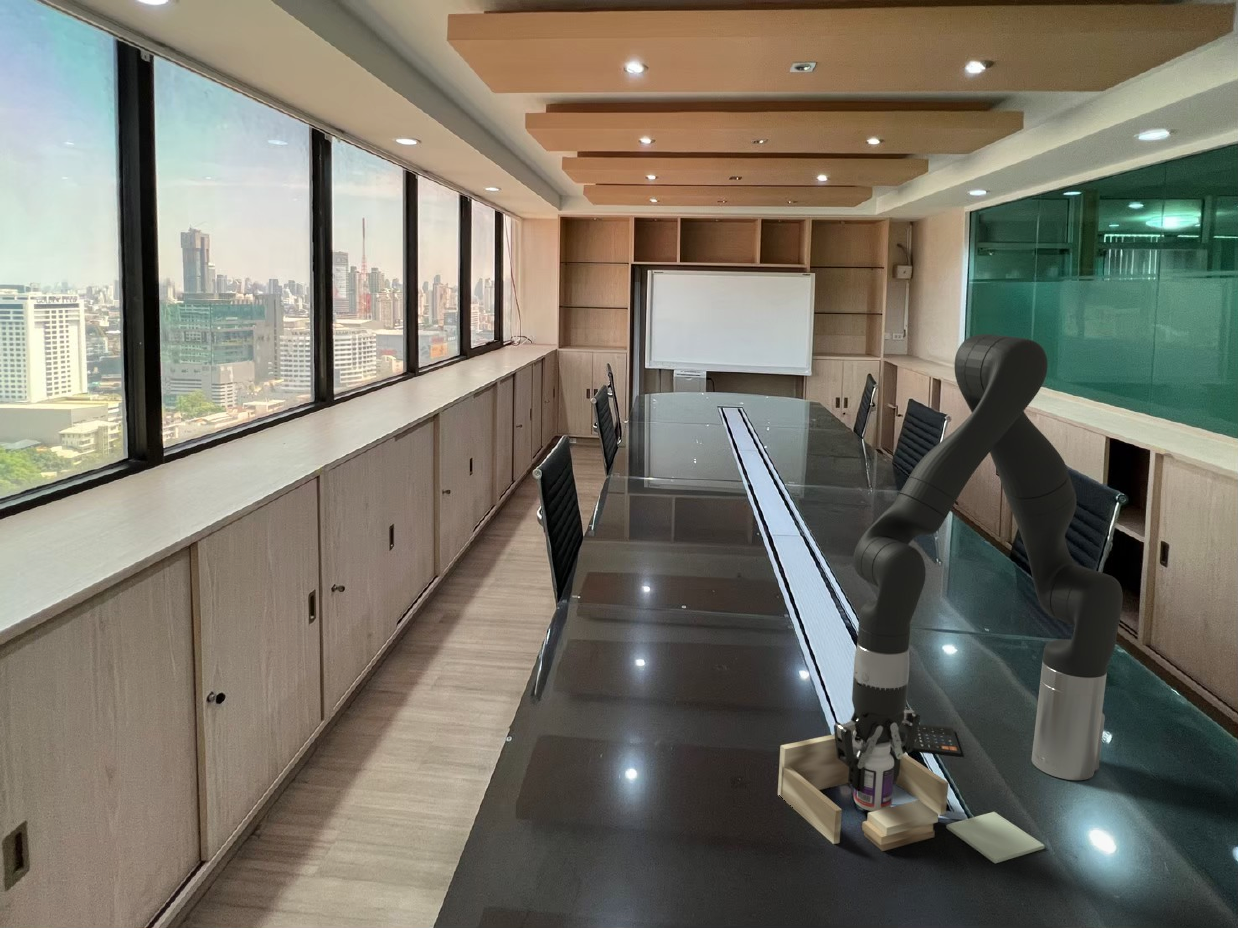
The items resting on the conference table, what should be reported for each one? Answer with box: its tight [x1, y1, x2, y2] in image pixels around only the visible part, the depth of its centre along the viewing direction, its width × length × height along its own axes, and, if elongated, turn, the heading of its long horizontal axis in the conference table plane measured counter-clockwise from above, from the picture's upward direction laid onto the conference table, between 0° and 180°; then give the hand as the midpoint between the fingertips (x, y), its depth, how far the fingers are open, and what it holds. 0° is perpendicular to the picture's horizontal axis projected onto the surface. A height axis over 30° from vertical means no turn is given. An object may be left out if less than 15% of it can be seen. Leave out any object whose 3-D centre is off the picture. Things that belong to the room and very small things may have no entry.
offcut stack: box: [861, 799, 939, 852], centre depth 129 cm, size 10×4×4 cm, turn 114°
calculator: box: [898, 723, 962, 757], centre depth 158 cm, size 9×12×3 cm
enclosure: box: [777, 730, 950, 845], centre depth 136 cm, size 20×14×8 cm
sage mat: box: [945, 811, 1045, 864], centre depth 129 cm, size 9×9×1 cm
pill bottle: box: [853, 740, 894, 812], centre depth 134 cm, size 5×5×10 cm
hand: (873, 783), depth 134 cm, fingers closed on pill bottle, 5 cm apart
